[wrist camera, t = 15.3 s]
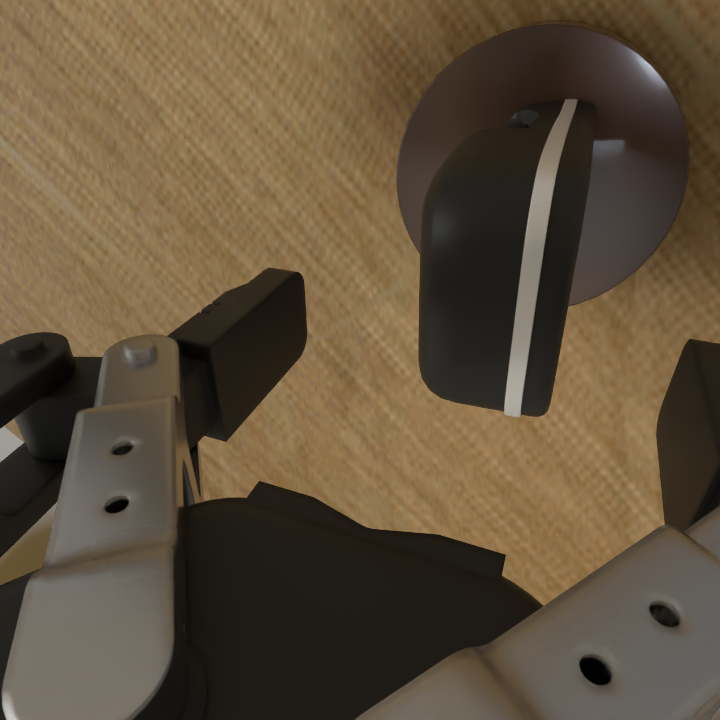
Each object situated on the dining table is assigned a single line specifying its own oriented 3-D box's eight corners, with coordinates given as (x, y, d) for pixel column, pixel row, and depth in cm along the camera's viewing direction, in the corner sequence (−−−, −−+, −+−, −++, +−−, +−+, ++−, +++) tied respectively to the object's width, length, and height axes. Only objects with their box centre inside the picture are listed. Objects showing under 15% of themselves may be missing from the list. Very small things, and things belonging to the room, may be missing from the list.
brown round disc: (723, 22, 20) (738, 25, 17) (638, 300, 26) (641, 331, 23) (422, 19, 23) (401, 21, 21) (409, 266, 29) (392, 290, 27)
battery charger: (490, 92, 21) (400, 164, 12) (599, 92, 19) (592, 174, 11) (476, 267, 24) (400, 423, 15) (567, 276, 23) (542, 452, 14)
